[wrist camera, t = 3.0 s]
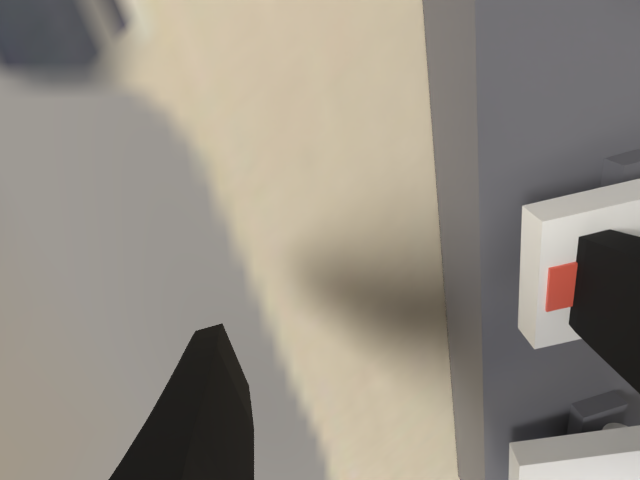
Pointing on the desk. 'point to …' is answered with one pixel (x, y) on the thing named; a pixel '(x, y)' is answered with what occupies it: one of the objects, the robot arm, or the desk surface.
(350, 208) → the desk surface
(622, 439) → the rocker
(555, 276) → the rocker middle
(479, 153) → the rocker switch panel
